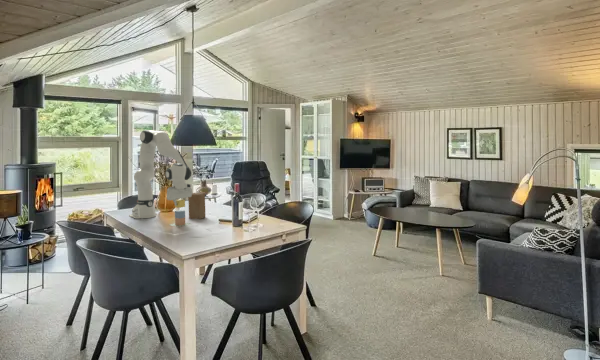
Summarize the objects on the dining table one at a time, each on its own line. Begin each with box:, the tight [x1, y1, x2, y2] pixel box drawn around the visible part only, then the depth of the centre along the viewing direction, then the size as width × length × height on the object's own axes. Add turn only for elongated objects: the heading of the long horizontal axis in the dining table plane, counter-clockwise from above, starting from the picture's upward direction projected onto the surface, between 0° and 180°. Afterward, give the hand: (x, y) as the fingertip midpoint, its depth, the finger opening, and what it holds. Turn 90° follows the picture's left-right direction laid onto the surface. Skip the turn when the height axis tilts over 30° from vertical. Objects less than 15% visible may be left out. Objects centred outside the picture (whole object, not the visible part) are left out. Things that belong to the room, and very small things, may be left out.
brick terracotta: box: [174, 217, 186, 225], centre depth 272 cm, size 5×5×5 cm
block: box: [187, 192, 206, 220], centre depth 296 cm, size 10×10×20 cm
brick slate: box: [174, 209, 186, 219], centre depth 271 cm, size 5×5×5 cm
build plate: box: [169, 222, 192, 228], centre depth 272 cm, size 12×12×1 cm
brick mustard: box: [174, 198, 186, 208], centre depth 270 cm, size 5×5×5 cm
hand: (179, 204), depth 271 cm, fingers closed on brick mustard, 5 cm apart
